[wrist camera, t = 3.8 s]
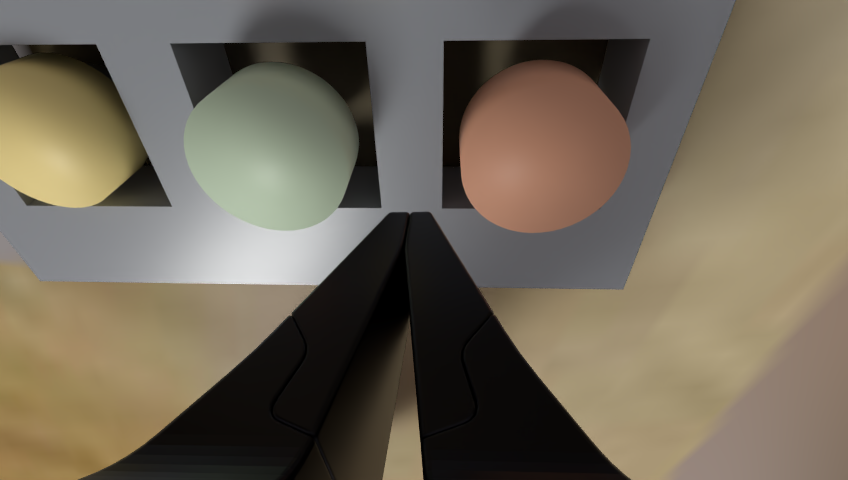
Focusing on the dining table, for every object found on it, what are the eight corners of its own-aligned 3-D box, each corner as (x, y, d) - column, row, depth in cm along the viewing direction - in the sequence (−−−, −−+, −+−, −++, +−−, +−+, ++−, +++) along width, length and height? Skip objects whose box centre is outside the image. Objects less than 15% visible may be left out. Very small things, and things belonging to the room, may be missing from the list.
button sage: (371, 175, 15) (356, 231, 13) (254, 174, 16) (215, 229, 13) (357, 47, 13) (334, 85, 10) (215, 48, 13) (155, 86, 10)
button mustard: (187, 160, 17) (138, 208, 14) (80, 159, 17) (12, 207, 14) (139, 40, 14) (66, 72, 11) (12, 41, 14) (-89, 73, 11)
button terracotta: (578, 176, 15) (606, 233, 12) (456, 175, 15) (458, 232, 13) (609, 45, 12) (654, 83, 10) (460, 46, 13) (464, 84, 10)
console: (601, 242, 19) (625, 295, 16) (87, 236, 20) (34, 285, 17) (723, -149, 11) (809, -166, 8) (-149, -126, 12) (-314, -134, 9)
